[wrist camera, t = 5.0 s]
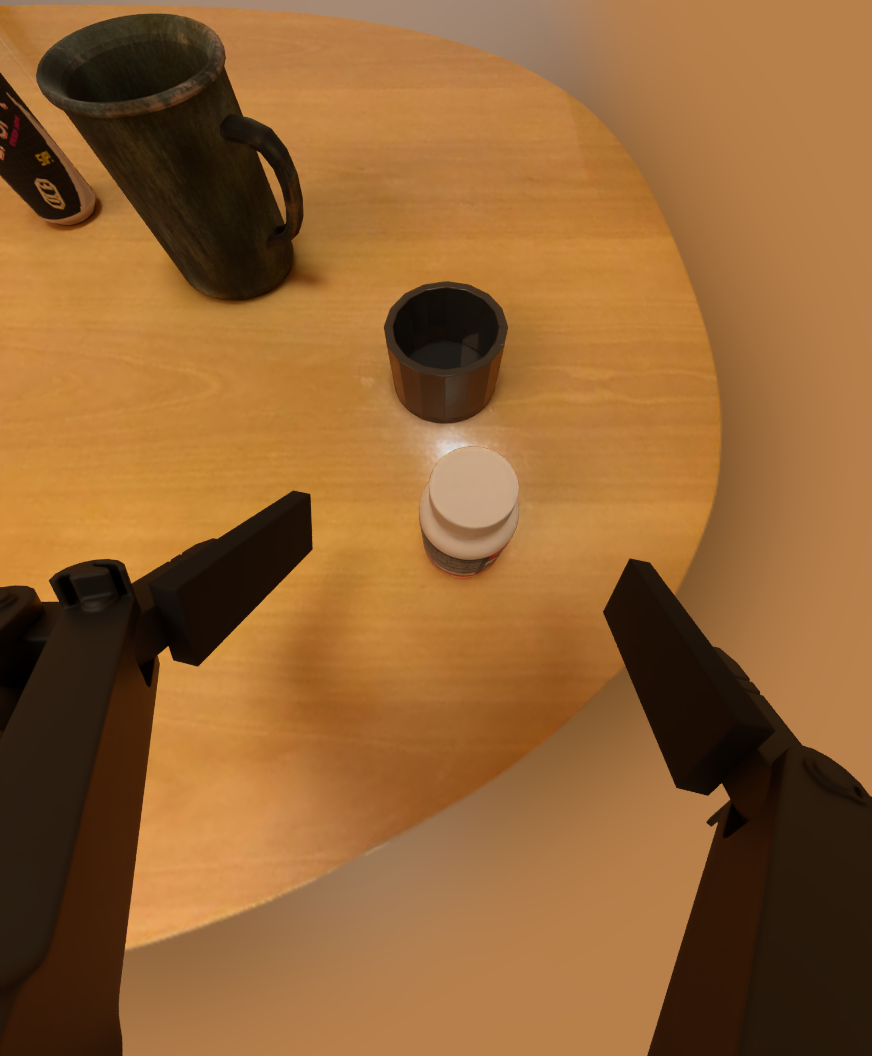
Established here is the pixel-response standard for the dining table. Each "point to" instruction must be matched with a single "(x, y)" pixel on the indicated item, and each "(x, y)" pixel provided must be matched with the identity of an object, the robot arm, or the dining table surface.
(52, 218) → the beverage can
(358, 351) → the dining table surface
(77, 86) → the mug
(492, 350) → the dark grey round container
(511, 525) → the pill bottle
